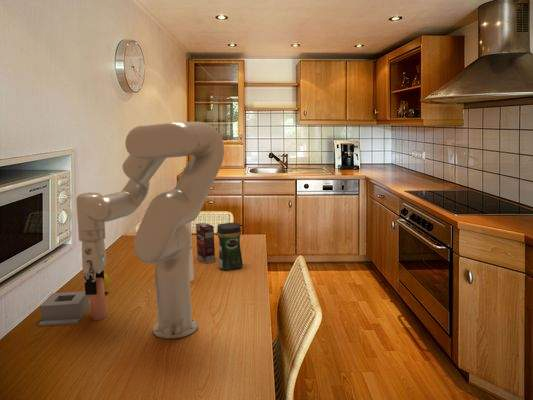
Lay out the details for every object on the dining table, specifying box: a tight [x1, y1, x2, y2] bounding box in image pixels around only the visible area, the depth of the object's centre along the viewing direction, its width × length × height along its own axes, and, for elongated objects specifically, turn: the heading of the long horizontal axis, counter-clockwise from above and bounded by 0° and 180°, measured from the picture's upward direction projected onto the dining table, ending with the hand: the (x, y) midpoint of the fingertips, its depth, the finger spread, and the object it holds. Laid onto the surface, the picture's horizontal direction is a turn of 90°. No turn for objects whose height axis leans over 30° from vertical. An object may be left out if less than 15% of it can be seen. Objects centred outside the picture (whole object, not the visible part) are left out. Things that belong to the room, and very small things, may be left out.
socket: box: [38, 290, 92, 327], centre depth 146 cm, size 16×11×5 cm
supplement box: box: [195, 222, 216, 264], centre depth 200 cm, size 9×5×16 cm, turn 33°
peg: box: [90, 278, 108, 321], centre depth 142 cm, size 4×4×12 cm
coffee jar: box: [216, 221, 244, 271], centre depth 189 cm, size 10×8×19 cm
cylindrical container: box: [185, 221, 195, 282], centre depth 174 cm, size 7×7×25 cm
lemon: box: [104, 272, 110, 292], centre depth 163 cm, size 6×6×8 cm
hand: (95, 288), depth 142 cm, fingers open, 9 cm apart
